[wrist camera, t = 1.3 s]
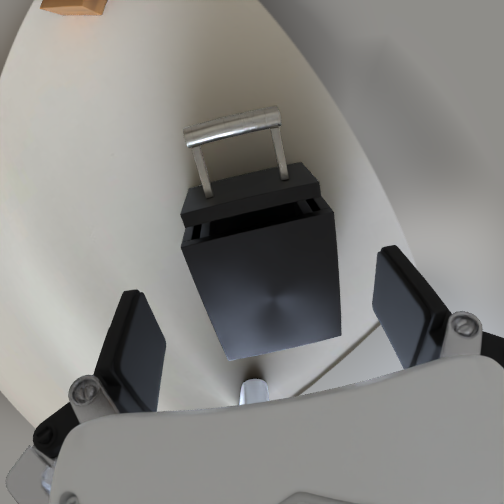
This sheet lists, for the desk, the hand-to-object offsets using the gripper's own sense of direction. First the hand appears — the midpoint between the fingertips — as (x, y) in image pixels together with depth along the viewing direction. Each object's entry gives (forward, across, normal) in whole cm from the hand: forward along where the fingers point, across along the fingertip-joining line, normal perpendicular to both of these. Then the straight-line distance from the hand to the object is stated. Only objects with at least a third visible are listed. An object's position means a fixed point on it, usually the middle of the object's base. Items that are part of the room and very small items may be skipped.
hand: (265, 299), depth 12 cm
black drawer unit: (+18, -1, +9) cm, 21 cm away
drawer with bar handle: (+17, 0, +4) cm, 18 cm away
